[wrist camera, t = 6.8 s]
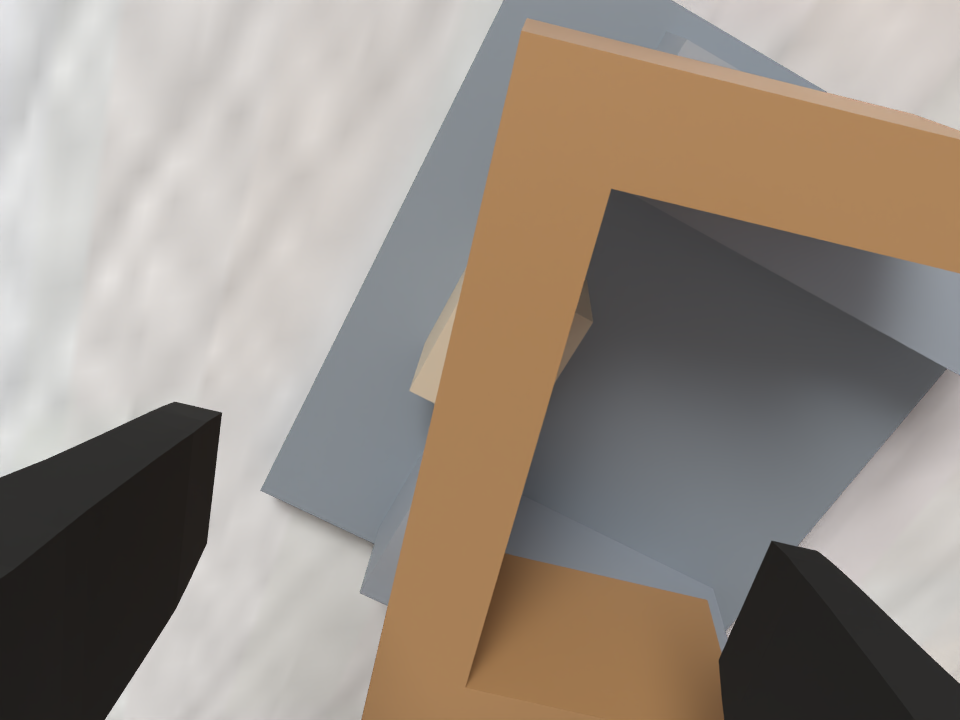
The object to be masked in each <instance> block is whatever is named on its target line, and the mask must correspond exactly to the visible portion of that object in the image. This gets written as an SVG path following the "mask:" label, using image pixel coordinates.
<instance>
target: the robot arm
mask: <svg viewBox="0 0 960 720" xmlns="http://www.w3.org/2000/svg"><path fill="white" fill-rule="evenodd" d="M221 416H222V413H221V412H217V411H213V410H208V409H204V408H200V407H195V406H191V405H187V404H182V403H178V402H173V403H170V404H168V405H165V406H163V407H160V408H158V409H156V410H153V411H151V412H149V413H147V414H145V415H142V416H140V417H138V418H136V419H134V420H132V421H129V422H127V423H125V424H123V425H121V426H119V427H117V428H114V429H112V430H110V431H108V432H106V433H104V434H102V435H99V436H97V437H95V438H93V439H90V440H88V441H86V442H84V443H82V444H79V445H77V446H75V447H73V448H70V449H68V450H66V451H64V452H62V453H59V454H57V455H55V456H53V457H50V458H48V459H46V460H43V461H41V462H38V463H36V464H33V465H31V466H28V467H26V468H23V469H21V470H18V471H16V472H13V473H11V474H8V475H6V476H3V477H1V478H0V720H105V719H106V717H107V715H108V714H109V712H110V711H111V709H112V708H113V706H114V705H115V703H116V702H117V700H118V698H119V697H120V695H121V694H122V692H123V691H124V689H125V688H126V686H127V685H128V683H129V682H130V680H131V678H132V677H133V675H134V674H135V672H136V671H137V669H138V668H139V666H140V665H141V663H142V662H143V660H144V658H145V657H146V655H147V654H148V652H149V651H150V649H151V647H152V646H153V644H154V643H155V641H156V640H157V638H158V636H159V635H160V633H161V632H162V630H163V629H164V627H165V626H166V624H167V622H168V621H169V619H170V618H171V616H172V614H173V613H174V611H175V610H176V608H177V605H178V603H179V601H180V599H181V597H182V595H183V593H184V591H185V589H186V587H187V585H188V583H189V581H190V579H191V577H192V574H193V572H194V570H195V568H196V566H197V564H198V561H199V559H200V557H201V555H202V553H203V551H204V548H205V546H206V544H207V537H208V529H209V520H210V511H211V503H212V494H213V486H214V477H215V468H216V460H217V451H218V442H219V434H220V425H221ZM719 672H720V684H721V696H722V706H723V714H724V720H960V684H959V683H958V682H957V681H956V680H955V679H954V678H953V677H952V676H951V675H950V674H949V673H947V672H946V671H945V670H944V669H943V668H942V667H941V666H940V665H939V664H938V663H937V662H936V661H935V660H934V659H933V658H932V657H930V656H929V655H928V654H927V653H926V652H925V651H924V650H923V649H922V648H921V647H920V646H919V645H918V644H917V643H916V642H915V641H914V640H913V639H912V638H911V637H910V636H909V635H908V634H907V633H905V632H904V631H903V630H902V629H901V628H900V627H899V626H898V625H897V624H896V623H895V622H894V621H893V620H892V619H891V618H890V617H889V616H888V615H887V614H886V613H885V612H884V611H883V610H882V609H881V608H880V607H879V606H878V605H877V604H876V603H875V602H874V601H873V600H871V599H870V598H869V597H868V596H867V595H866V594H865V593H864V592H863V591H862V590H861V589H860V588H859V587H858V586H857V585H856V584H855V583H854V582H853V581H852V580H850V579H849V578H848V577H847V576H846V575H845V574H844V573H843V572H842V571H841V570H840V569H838V568H837V567H836V566H835V565H834V564H833V563H832V562H830V561H829V560H828V559H827V558H826V557H824V556H823V555H822V554H821V553H819V552H818V551H815V550H810V549H806V548H802V547H798V546H793V545H789V544H785V543H780V542H776V541H771V543H770V545H769V547H768V550H767V552H766V554H765V556H764V559H763V561H762V563H761V565H760V568H759V570H758V572H757V574H756V577H755V579H754V581H753V583H752V586H751V588H750V590H749V593H748V595H747V597H746V599H745V602H744V604H743V606H742V608H741V611H740V613H739V615H738V617H737V620H736V622H735V624H734V626H733V629H732V631H731V633H730V635H729V638H728V640H727V642H726V644H725V647H724V649H723V651H722V653H721V656H720V658H719Z"/></svg>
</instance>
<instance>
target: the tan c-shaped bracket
mask: <svg viewBox="0 0 960 720" xmlns="http://www.w3.org/2000/svg"><path fill="white" fill-rule="evenodd" d="M611 189H615V190H619V191H623V192H627V193H631V194H635V195H640V196H644V197H648V198H652V199H656V200H660V201H664V202H668V203H672V204H677V205H681V206H685V207H689V208H693V209H697V210H701V211H705V212H709V213H713V214H718V215H722V216H726V217H730V218H734V219H738V220H742V221H746V222H750V223H754V224H759V225H763V226H767V227H771V228H775V229H779V230H783V231H787V232H791V233H796V234H800V235H804V236H808V237H812V238H816V239H820V240H824V241H828V242H832V243H837V244H841V245H845V246H849V247H853V248H857V249H861V250H865V251H869V252H873V253H878V254H882V255H886V256H890V257H894V258H898V259H902V260H906V261H910V262H915V263H919V264H923V265H927V266H931V267H935V268H939V269H943V270H947V271H951V272H956V273H960V131H959V130H956V129H953V128H950V127H947V126H945V125H942V124H939V123H936V122H933V121H931V120H928V119H925V118H922V117H920V116H917V115H914V114H911V113H907V112H902V111H898V110H894V109H890V108H886V107H882V106H878V105H874V104H870V103H866V102H862V101H858V100H854V99H850V98H846V97H842V96H838V95H834V94H830V93H826V92H822V91H818V90H814V89H810V88H806V87H802V86H798V85H794V84H790V83H786V82H782V81H778V80H774V79H770V78H766V77H762V76H758V75H754V74H750V73H746V72H742V71H738V70H734V69H730V68H726V67H722V66H718V65H714V64H710V63H706V62H702V61H698V60H694V59H690V58H686V57H682V56H678V55H674V54H670V53H666V52H662V51H657V50H653V49H649V48H645V47H641V46H637V45H633V44H629V43H625V42H621V41H617V40H613V39H609V38H605V37H601V36H597V35H593V34H589V33H585V32H581V31H577V30H573V29H569V28H565V27H561V26H557V25H553V24H549V23H545V22H541V21H537V20H533V19H529V18H527V19H526V21H525V23H524V26H523V28H522V30H521V34H520V39H519V43H518V47H517V52H516V56H515V60H514V65H513V69H512V73H511V77H510V82H509V86H508V90H507V95H506V99H505V103H504V108H503V112H502V116H501V121H500V125H499V129H498V133H497V138H496V142H495V146H494V151H493V155H492V159H491V164H490V168H489V172H488V177H487V181H486V185H485V189H484V194H483V198H482V202H481V207H480V211H479V215H478V220H477V224H476V228H475V233H474V237H473V241H472V246H471V250H470V254H469V258H468V263H467V267H466V271H465V276H464V280H463V284H462V289H461V293H460V297H459V302H458V306H457V310H456V314H455V319H454V323H453V327H452V332H451V336H450V340H449V345H448V349H447V353H446V358H445V362H444V366H443V370H442V375H441V379H440V383H439V388H438V392H437V396H436V401H435V405H434V409H433V414H432V418H431V422H430V426H429V431H428V435H427V439H426V444H425V448H424V452H423V457H422V461H421V465H420V470H419V474H418V478H417V482H416V487H415V491H414V495H413V500H412V504H411V508H410V513H409V517H408V521H407V526H406V530H405V534H404V538H403V543H402V547H401V551H400V556H399V560H398V564H397V569H396V573H395V577H394V582H393V586H392V590H391V595H390V599H389V603H388V607H387V612H386V616H385V620H384V625H383V629H382V633H381V638H380V642H379V646H378V651H377V655H376V659H375V663H374V668H373V672H372V676H371V681H370V685H369V689H368V694H367V698H366V702H365V707H364V711H363V715H362V719H361V720H724V714H723V706H722V696H721V684H720V672H719V658H720V656H721V649H720V645H719V642H718V638H717V634H716V630H715V627H714V623H713V619H712V615H711V612H710V608H709V604H708V600H706V599H701V598H697V597H692V596H688V595H684V594H679V593H675V592H671V591H666V590H662V589H658V588H653V587H649V586H645V585H640V584H636V583H632V582H627V581H623V580H619V579H614V578H610V577H605V576H601V575H597V574H592V573H588V572H584V571H579V570H575V569H571V568H566V567H562V566H558V565H553V564H549V563H545V562H540V561H536V560H532V559H527V558H523V557H518V556H514V555H510V554H505V550H506V547H507V543H508V540H509V536H510V533H511V530H512V526H513V523H514V519H515V516H516V513H517V509H518V506H519V502H520V499H521V495H522V492H523V489H524V485H525V482H526V478H527V475H528V472H529V468H530V465H531V461H532V458H533V455H534V451H535V448H536V444H537V441H538V437H539V434H540V431H541V427H542V424H543V420H544V417H545V414H546V410H547V407H548V403H549V400H550V396H551V393H552V390H553V386H554V383H555V379H556V376H557V373H558V369H559V366H560V362H561V359H562V355H563V352H564V349H565V345H566V342H567V338H568V335H569V332H570V328H571V325H572V321H573V318H574V314H575V311H576V308H577V304H578V301H579V297H580V294H581V291H582V287H583V284H584V280H585V277H586V274H587V270H588V267H589V263H590V260H591V256H592V253H593V250H594V246H595V243H596V239H597V236H598V233H599V229H600V226H601V222H602V219H603V215H604V212H605V209H606V205H607V202H608V198H609V195H610V192H611Z"/></svg>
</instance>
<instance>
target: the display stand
mask: <svg viewBox="0 0 960 720" xmlns="http://www.w3.org/2000/svg"><path fill="white" fill-rule="evenodd" d="M527 18H529V19H533V20H537V21H541V22H545V23H549V24H553V25H557V26H561V27H565V28H569V29H573V30H577V31H581V32H585V33H589V34H593V35H597V36H601V37H605V38H609V39H613V40H617V41H621V42H625V43H629V44H633V45H637V46H641V47H645V48H649V49H653V50H657V51H662V52H666V53H670V54H674V55H678V56H682V57H686V58H690V59H694V60H698V61H702V62H706V63H710V64H714V65H718V66H722V67H726V68H730V69H734V70H738V71H742V72H746V73H750V74H754V75H758V76H762V77H766V78H770V79H774V80H778V81H782V82H786V83H790V84H794V85H798V86H802V87H806V88H810V89H814V90H818V91H822V92H826V91H824V90H822V89H821V88H819V87H817V86H816V85H814V84H812V83H811V82H809V81H807V80H805V79H804V78H802V77H800V76H799V75H797V74H795V73H794V72H792V71H790V70H789V69H787V68H785V67H783V66H782V65H780V64H778V63H777V62H775V61H773V60H772V59H770V58H768V57H767V56H765V55H763V54H762V53H760V52H758V51H756V50H755V49H753V48H751V47H750V46H748V45H746V44H745V43H743V42H741V41H740V40H738V39H736V38H734V37H733V36H731V35H729V34H728V33H726V32H724V31H723V30H721V29H719V28H718V27H716V26H714V25H712V24H711V23H709V22H707V21H706V20H704V19H702V18H701V17H699V16H697V15H696V14H694V13H692V12H691V11H689V10H687V9H685V8H684V7H682V6H680V5H679V4H677V3H675V2H674V1H672V0H504V1H503V3H502V5H501V7H500V9H499V11H498V13H497V15H496V17H495V19H494V21H493V23H492V25H491V27H490V29H489V31H488V33H487V35H486V37H485V39H484V41H483V43H482V45H481V47H480V49H479V51H478V53H477V55H476V57H475V59H474V61H473V63H472V65H471V67H470V69H469V71H468V73H467V75H466V77H465V79H464V81H463V83H462V85H461V87H460V89H459V91H458V93H457V95H456V97H455V99H454V101H453V103H452V106H451V108H450V110H449V112H448V114H447V116H446V118H445V120H444V122H443V124H442V126H441V128H440V130H439V132H438V134H437V136H436V138H435V140H434V142H433V144H432V146H431V148H430V150H429V152H428V154H427V156H426V158H425V160H424V162H423V164H422V166H421V168H420V170H419V172H418V174H417V176H416V178H415V180H414V182H413V184H412V186H411V188H410V190H409V192H408V194H407V196H406V198H405V200H404V202H403V204H402V206H401V208H400V210H399V212H398V214H397V216H396V218H395V220H394V222H393V224H392V226H391V228H390V230H389V232H388V234H387V236H386V238H385V240H384V243H383V245H382V247H381V249H380V251H379V253H378V255H377V257H376V259H375V261H374V263H373V265H372V267H371V269H370V271H369V273H368V275H367V277H366V279H365V281H364V283H363V285H362V287H361V289H360V291H359V293H358V295H357V297H356V299H355V301H354V303H353V305H352V307H351V309H350V311H349V313H348V315H347V317H346V319H345V321H344V323H343V325H342V327H341V329H340V331H339V333H338V335H337V337H336V339H335V341H334V343H333V345H332V347H331V349H330V351H329V353H328V355H327V357H326V359H325V361H324V363H323V365H322V367H321V369H320V371H319V373H318V375H317V377H316V379H315V382H314V384H313V386H312V388H311V390H310V392H309V394H308V396H307V398H306V400H305V402H304V404H303V406H302V408H301V410H300V412H299V414H298V416H297V418H296V420H295V422H294V424H293V426H292V428H291V430H290V432H289V434H288V436H287V438H286V440H285V442H284V444H283V446H282V448H281V450H280V452H279V454H278V456H277V458H276V460H275V462H274V464H273V466H272V468H271V470H270V472H269V474H268V476H267V478H266V480H265V482H264V484H263V486H262V488H261V490H260V491H262V492H265V493H267V494H269V495H271V496H273V497H275V498H277V499H279V500H282V501H284V502H286V503H288V504H290V505H292V506H294V507H297V508H299V509H301V510H303V511H305V512H307V513H309V514H311V515H314V516H316V517H318V518H320V519H322V520H324V521H326V522H328V523H331V524H333V525H335V526H337V527H339V528H341V529H343V530H345V531H348V532H350V533H352V534H354V535H356V536H358V537H360V538H363V539H365V540H367V541H369V542H371V543H373V544H374V547H373V550H372V553H371V557H370V560H369V563H368V567H367V570H366V573H365V577H364V580H363V583H362V587H361V590H360V593H361V594H363V595H365V596H367V597H369V598H372V599H374V600H376V601H378V602H380V603H383V604H385V605H387V606H388V603H389V599H390V595H391V590H392V586H393V582H394V577H395V573H396V569H397V564H398V560H399V556H400V551H401V547H402V543H403V538H404V534H405V530H406V526H407V521H408V517H409V513H410V508H411V504H412V500H413V495H414V491H415V487H416V482H417V478H418V474H419V470H420V465H421V461H422V457H423V452H424V448H425V444H426V439H427V435H428V431H429V426H430V422H431V418H432V414H433V409H434V405H435V401H436V396H437V392H438V388H439V383H440V379H441V375H442V370H443V366H444V362H445V358H446V353H447V349H448V345H449V340H450V336H451V332H452V327H453V323H454V319H455V314H456V310H457V306H458V302H459V297H460V293H461V289H462V284H463V280H464V276H465V271H466V267H467V263H468V258H469V254H470V250H471V246H472V241H473V237H474V233H475V228H476V224H477V220H478V215H479V211H480V207H481V202H482V198H483V194H484V189H485V185H486V181H487V177H488V172H489V168H490V164H491V159H492V155H493V151H494V146H495V142H496V138H497V133H498V129H499V125H500V121H501V116H502V112H503V108H504V103H505V99H506V95H507V90H508V86H509V82H510V77H511V73H512V69H513V65H514V60H515V56H516V52H517V47H518V43H519V39H520V34H521V30H522V28H523V26H524V23H525V21H526V19H527ZM826 93H827V92H826ZM946 369H949V370H951V371H953V372H954V373H956V374H958V375H960V273H956V272H951V271H947V270H943V269H939V268H935V267H931V266H927V265H923V264H919V263H915V262H910V261H906V260H902V259H898V258H894V257H890V256H886V255H882V254H878V253H873V252H869V251H865V250H861V249H857V248H853V247H849V246H845V245H841V244H837V243H832V242H828V241H824V240H820V239H816V238H812V237H808V236H804V235H800V234H796V233H791V232H787V231H783V230H779V229H775V228H771V227H767V226H763V225H759V224H754V223H750V222H746V221H742V220H738V219H734V218H730V217H726V216H722V215H718V214H713V213H709V212H705V211H701V210H697V209H693V208H689V207H685V206H681V205H677V204H672V203H668V202H664V201H660V200H656V199H652V198H648V197H644V196H640V195H635V194H631V193H627V192H623V191H619V190H615V189H611V192H610V195H609V198H608V202H607V205H606V209H605V212H604V215H603V219H602V222H601V226H600V229H599V233H598V236H597V239H596V243H595V246H594V250H593V253H592V256H591V260H590V263H589V267H588V270H587V274H586V277H585V280H584V284H583V287H582V291H581V294H580V297H579V301H578V304H577V308H576V311H575V314H574V318H573V321H572V325H571V328H570V332H569V335H568V338H567V342H566V345H565V349H564V352H563V355H562V359H561V362H560V366H559V369H558V373H557V376H556V379H555V383H554V386H553V390H552V393H551V396H550V400H549V403H548V407H547V410H546V414H545V417H544V420H543V424H542V427H541V431H540V434H539V437H538V441H537V444H536V448H535V451H534V455H533V458H532V461H531V465H530V468H529V472H528V475H527V478H526V482H525V485H524V489H523V492H522V495H521V499H520V502H519V506H518V509H517V513H516V516H515V519H514V523H513V526H512V530H511V533H510V536H509V540H508V543H507V547H506V550H505V554H510V555H514V556H518V557H523V558H527V559H532V560H536V561H540V562H545V563H549V564H553V565H558V566H562V567H566V568H571V569H575V570H579V571H584V572H588V573H592V574H597V575H601V576H605V577H610V578H614V579H619V580H623V581H627V582H632V583H636V584H640V585H645V586H649V587H653V588H658V589H662V590H666V591H671V592H675V593H679V594H684V595H688V596H692V597H697V598H701V599H706V600H708V604H709V608H710V612H711V615H712V619H713V623H714V627H715V630H716V634H717V638H718V642H719V645H720V649H721V653H722V651H723V649H724V647H725V644H726V642H727V640H728V639H727V636H726V632H725V631H726V630H727V629H728V628H729V627H730V625H731V624H732V623H733V622H734V621H735V619H736V618H737V617H738V615H739V613H740V611H741V608H742V606H743V604H744V602H745V599H746V597H747V595H748V593H749V590H750V588H751V586H752V583H753V581H754V579H755V577H756V574H757V572H758V570H759V568H760V565H761V563H762V561H763V559H764V556H765V554H766V552H767V550H768V547H769V545H770V543H771V541H776V542H780V543H785V544H789V545H793V546H798V545H799V544H800V542H801V541H802V540H803V539H804V538H805V536H806V535H807V534H808V533H809V532H810V530H811V529H812V528H813V527H814V526H815V525H816V523H817V522H818V521H819V520H820V519H821V517H822V516H823V515H824V514H825V513H826V511H827V510H828V509H829V508H830V507H831V506H832V504H833V503H834V502H835V501H836V500H837V498H838V497H839V496H840V495H841V494H842V492H843V491H844V490H845V489H846V488H847V487H848V485H849V484H850V483H851V482H852V481H853V479H854V478H855V477H856V476H857V475H858V473H859V472H860V471H861V470H862V469H863V468H864V466H865V465H866V464H867V463H868V462H869V460H870V459H871V458H872V457H873V456H874V454H875V453H876V452H877V451H878V450H879V449H880V447H881V446H882V445H883V444H884V443H885V441H886V440H887V439H888V438H889V437H890V435H891V434H892V433H893V432H894V431H895V430H896V428H897V427H898V426H899V425H900V424H901V422H902V421H903V420H904V419H905V418H906V416H907V415H908V414H909V413H910V412H911V411H912V409H913V408H914V407H915V406H916V405H917V403H918V402H919V401H920V400H921V399H922V397H923V396H924V395H925V394H926V393H927V392H928V390H929V389H930V388H931V387H932V386H933V384H934V383H935V382H936V381H937V380H938V378H939V377H940V376H941V375H942V374H943V373H944V371H945V370H946Z"/></svg>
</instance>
